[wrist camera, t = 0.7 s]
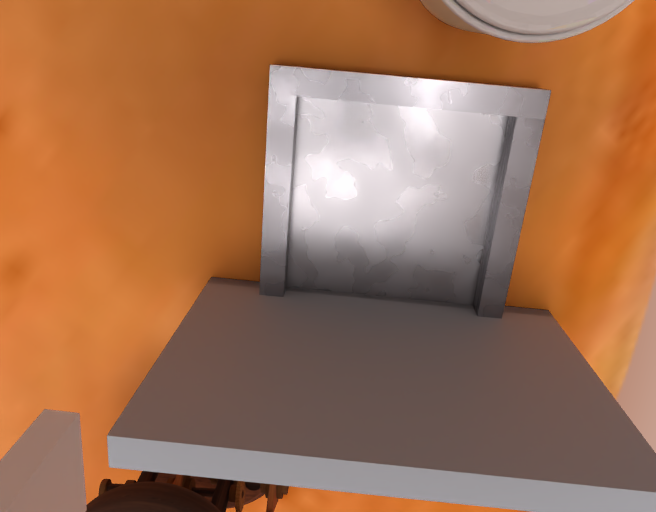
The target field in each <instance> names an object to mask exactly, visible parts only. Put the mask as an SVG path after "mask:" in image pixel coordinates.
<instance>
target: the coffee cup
mask: <svg viewBox="0 0 656 512" xmlns="http://www.w3.org/2000/svg"><path fill="white" fill-rule="evenodd" d="M420 1H421V2H422V4H423V5H424V6H425V8H426V9H427V10H428V11H429V12H430V13H431V14H432V15H434V16H435V17H436V18H438V19H439V20H440V21H442V22H444V23H446V24H448V25H450V26H453V27H455V28H458V29H462V30H466V31H471V32H476V33H482V34H488V35H491V36H494V37H497V38H501V39H504V40H509V41H515V42H524V43H541V42H551V41H556V40H562V39H565V38H569V37H572V36H576V35H578V34H581V33H583V32H586V31H588V30H590V29H592V28H594V27H596V26H598V25H600V24H602V23H604V22H606V21H607V20H609V19H610V18H612V17H613V16H615V15H617V14H618V13H619V12H621V11H622V10H623V9H624V8H626V7H627V6H628V5H630V4H631V3H632V2H633V1H634V0H420Z"/></svg>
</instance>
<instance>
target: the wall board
mask: <svg viewBox="0 0 656 512" xmlns="http://www.w3.org/2000/svg"><path fill="white" fill-rule="evenodd" d="M259 291H260V282H257V281H247V280H237V279H226V278H216V277H211V278H210V280H209V281H208V283H207V284H206V286H205V287H204V289H203V290H202V292H201V293H200V295H199V296H198V298H197V300H196V301H195V303H194V304H193V306H192V307H191V309H190V310H189V312H188V313H187V315H186V316H185V318H184V319H183V321H182V322H181V324H180V325H179V327H178V328H177V330H176V331H175V333H174V335H173V336H172V338H171V339H170V341H169V342H168V344H167V345H166V347H165V348H164V350H163V351H162V353H161V354H160V356H159V357H158V359H157V360H156V362H155V363H154V365H153V366H152V368H151V370H150V371H149V373H148V374H147V376H146V377H145V379H144V380H143V382H142V383H141V385H140V386H139V388H138V389H137V391H136V392H135V394H134V395H133V397H132V398H131V400H130V401H129V403H128V405H127V406H126V408H125V409H124V411H123V412H122V414H121V415H120V417H119V418H118V420H117V421H116V423H115V424H114V426H113V427H112V429H111V430H110V432H109V433H108V435H107V443H108V458H109V467H112V468H121V469H131V470H141V471H150V472H160V473H169V474H179V475H188V476H198V477H207V478H217V479H227V480H236V481H246V482H255V483H265V484H274V485H284V486H293V487H303V488H313V489H322V490H332V491H341V492H351V493H360V494H370V495H379V496H389V497H398V498H408V499H418V500H427V501H437V502H446V503H456V504H465V505H475V506H484V507H494V508H504V509H513V510H523V511H532V512H656V453H655V452H654V450H653V449H652V448H651V446H650V445H649V444H648V443H647V441H646V440H645V439H644V437H643V436H642V434H641V433H640V432H639V430H638V429H637V428H636V426H635V425H634V424H633V423H632V421H631V420H630V418H629V417H628V416H627V414H626V413H625V412H624V411H623V409H622V408H621V406H620V405H619V404H618V402H617V401H616V400H615V398H614V397H613V396H612V394H611V393H610V392H609V390H608V389H607V388H606V386H605V385H604V384H603V382H602V381H601V380H600V378H599V377H598V376H597V374H596V373H595V372H594V370H593V369H592V368H591V366H590V365H589V364H588V362H587V361H586V360H585V358H584V357H583V356H582V354H581V353H580V352H579V350H578V349H577V348H576V346H575V345H574V344H573V342H572V341H571V340H570V338H569V337H568V336H567V334H566V333H565V332H564V330H563V329H562V328H561V326H560V325H559V324H558V322H557V321H556V320H555V318H554V317H553V316H552V314H551V313H550V312H549V310H541V309H531V308H521V307H511V306H504V311H503V315H502V319H500V318H490V317H479V316H477V314H476V312H475V310H474V308H473V306H472V305H465V304H455V303H445V302H435V301H425V300H414V299H404V298H394V297H384V296H374V295H364V294H353V293H343V292H333V291H323V290H313V289H303V288H292V287H286V290H285V294H284V297H277V296H267V295H259Z"/></svg>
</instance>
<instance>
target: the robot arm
mask: <svg viewBox="0 0 656 512" xmlns="http://www.w3.org/2000/svg"><path fill="white" fill-rule="evenodd" d="M86 510H87V506H86V493H85V480H84V467H83V454H82V441H81V428H80V415H79V413H73V412H65V411H56V410H47V409H44V410H43V412H42V413H41V414H40V415H39V416H38V417H37V419H36V420H35V421H34V422H33V423H32V424H31V426H30V427H29V428H28V429H27V430H26V431H25V433H24V434H23V435H22V436H21V437H20V438H19V440H18V441H17V442H16V443H15V444H14V445H13V446H12V448H11V449H10V450H9V451H8V452H7V453H6V455H5V456H4V457H3V458H2V459H1V460H0V512H86Z"/></svg>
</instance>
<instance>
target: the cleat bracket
mask: <svg viewBox="0 0 656 512" xmlns="http://www.w3.org/2000/svg"><path fill="white" fill-rule="evenodd" d="M550 94H551V90H546V89H540V88H530V87H519V86H508V85H497V84H486V83H476V82H465V81H454V80H443V79H432V78H421V77H410V76H399V75H388V74H377V73H366V72H355V71H344V70H333V69H323V68H312V67H301V66H290V65H279V64H272V65H270V74H269V96H268V117H267V139H266V161H265V183H264V204H263V226H262V248H261V269H260V291H259V295H267V296H277V297H284V294H285V290H286V287H292V288H303V289H313V290H323V291H333V292H343V293H353V294H364V295H374V296H384V297H394V298H404V299H414V300H425V301H435V302H445V303H455V304H465V305H472V306H473V308H474V310H475V312H476V314H477V316H479V317H490V318H500V319H502V315H503V311H504V306H505V302H506V297H507V292H508V288H509V283H510V279H511V274H512V269H513V265H514V260H515V256H516V251H517V246H518V242H519V237H520V232H521V228H522V223H523V219H524V214H525V209H526V205H527V200H528V196H529V191H530V186H531V182H532V177H533V173H534V168H535V163H536V159H537V154H538V149H539V145H540V140H541V136H542V131H543V126H544V122H545V117H546V113H547V108H548V103H549V99H550Z"/></svg>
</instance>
